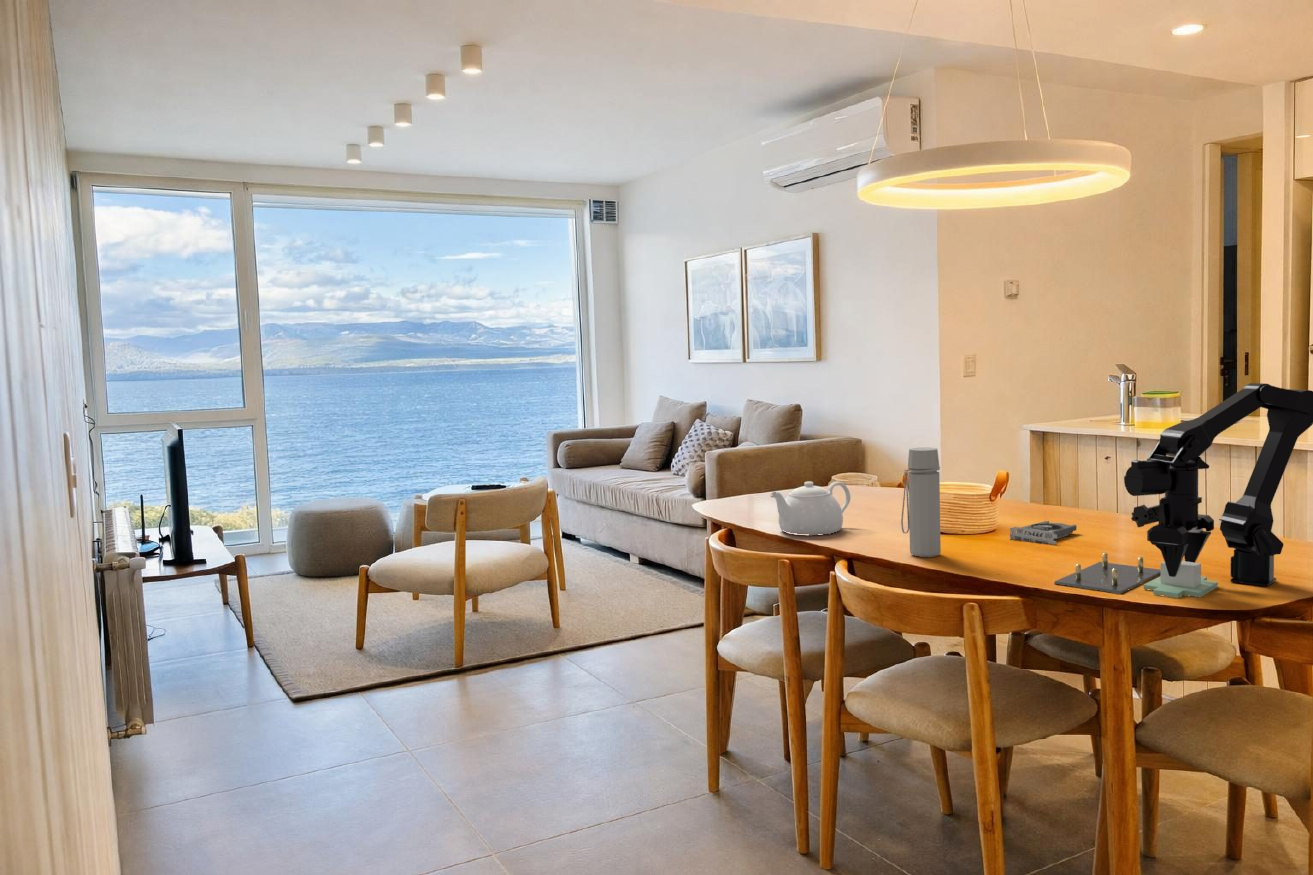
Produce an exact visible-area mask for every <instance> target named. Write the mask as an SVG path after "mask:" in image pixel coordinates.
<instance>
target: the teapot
mask: <svg viewBox="0 0 1313 875" xmlns="http://www.w3.org/2000/svg"><path fill="white" fill-rule="evenodd" d="M803 484H804V485H803V486H799V487H797V488H795V489H793V490H792V491H790V492H789V493H788V495H787V496H786V498H784V496H783V495H782V493H781V492H780V491H777V490H775V491H772V492H771V493H770V498H773V499H775V502H776V507H777V513H778V524H779V528H780V530H781V531H782V530H784V531H786V532H790V533H797V534H809V535H818V534H829V535H831V534H830V533H833V534H835V533H834V532H836V533H838V532H839V531H840V530H841V529H842V527H843V522H844V515H843V513H844V512H845V510H846V509H847V508H848V506H849V504H850V502H851V492H850V489H849V488H848V487H847V485H846V484H845V483H843V482H842V481H833V482H831V483H830V484H829V486H828V489H826V488H824V487H822V486H819V485H814V482H813V481H805V482H804V483H803ZM836 486H840V487H841V488H842V490H843V492H844V493H845V501H844V504H843V505H842V506H841V505H840V503H839V502H838V500H837V499H836V497H835V496H834V495H833V490H834V488H835V487H836ZM837 531H838V532H837Z"/></svg>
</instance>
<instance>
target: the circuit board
mask: <svg viewBox="0 0 1313 875" xmlns="http://www.w3.org/2000/svg"><path fill="white" fill-rule="evenodd" d="M1160 569H1161V574H1160V575H1159V576H1157V577H1155V578H1153V579H1152V580H1149V581H1148V582H1147V583H1143V589H1150V590H1153V591H1152V595H1153V594H1154V595H1153V596H1157V595H1164V596H1167V597H1166V598H1171V597H1173V599H1180V598H1181V597H1183V596H1182V595H1190V596H1195V597H1194V598H1197V597H1200V598H1202V597H1203V596H1205V595H1206V594H1208V593H1210V592H1211V591H1213V590H1216V589H1217V588H1218V587H1219V582H1218V581H1214V580H1213V581H1212V580H1208V577H1207V576H1202V563H1201V562H1195V563H1194V562H1186V561H1185V560H1182V562H1181V565H1180V567H1179V570H1178V572H1177V575H1176V576H1175V577H1171V576H1169V574H1168V571H1167V568H1166V564H1165V561H1164V560H1163V561H1161V562H1160ZM1164 596H1163V597H1164ZM1180 596H1181V597H1180ZM1190 596H1189V597H1190ZM1179 597H1180V598H1179Z"/></svg>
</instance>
